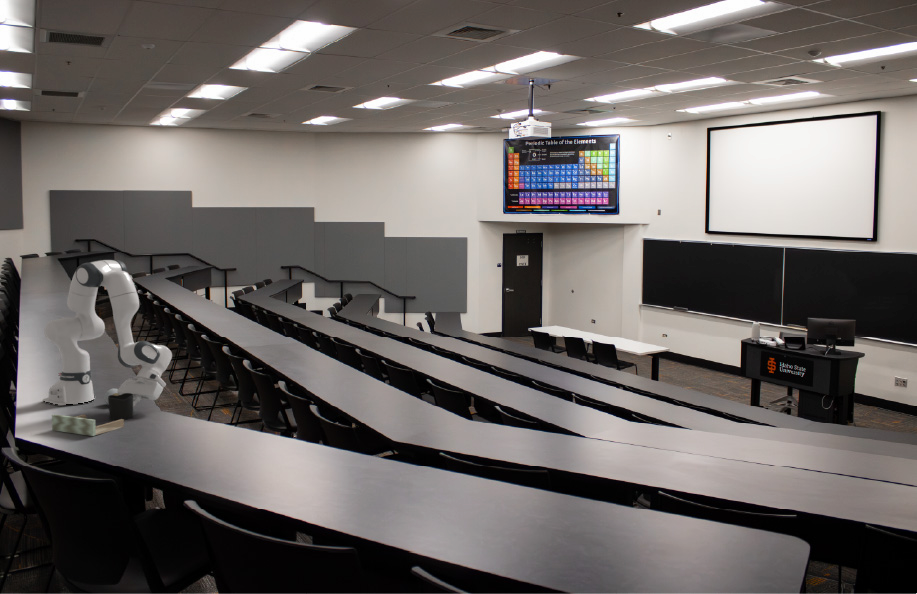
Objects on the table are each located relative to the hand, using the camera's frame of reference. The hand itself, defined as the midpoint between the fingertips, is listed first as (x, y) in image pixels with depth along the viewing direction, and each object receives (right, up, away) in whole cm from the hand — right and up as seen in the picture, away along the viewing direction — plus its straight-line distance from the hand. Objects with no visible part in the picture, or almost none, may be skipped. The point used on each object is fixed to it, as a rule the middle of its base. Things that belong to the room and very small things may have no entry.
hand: (129, 405), depth 293 cm
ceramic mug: (-14, -4, +20) cm, 25 cm away
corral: (-7, -6, -19) cm, 21 cm away
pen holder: (-2, -5, -4) cm, 7 cm away
